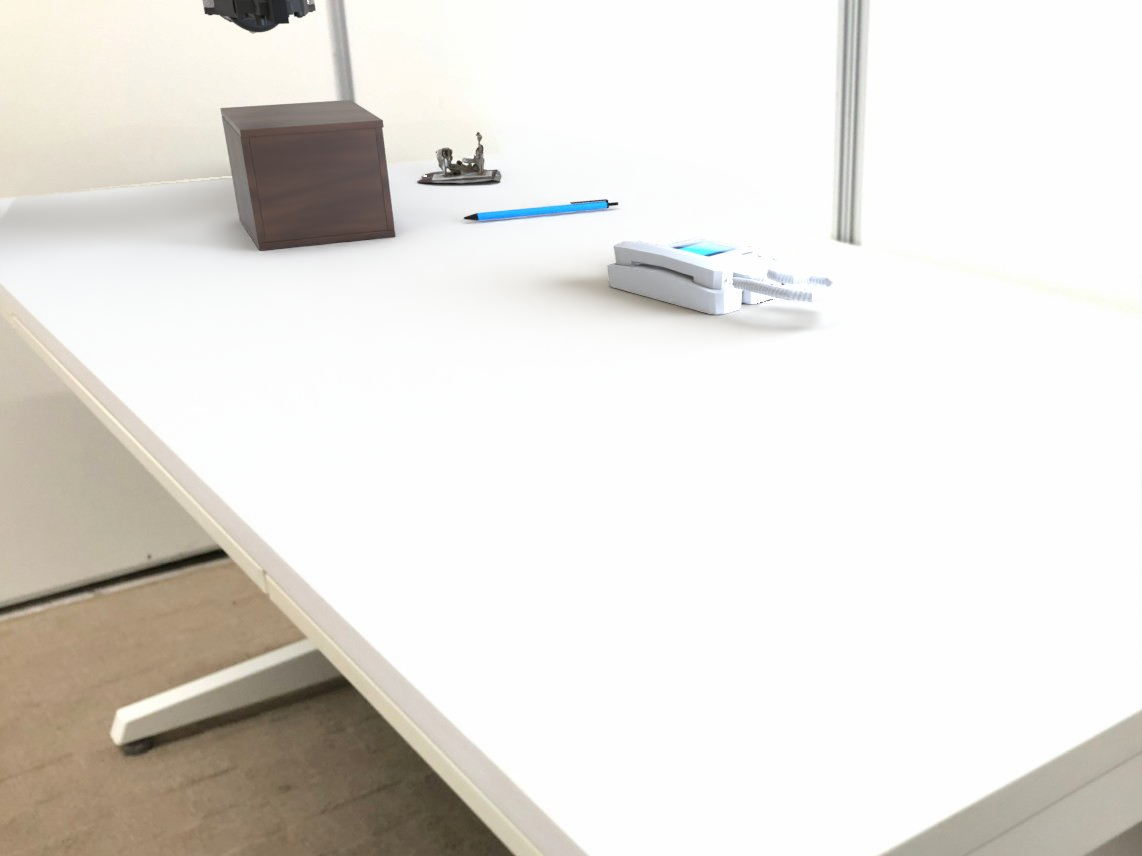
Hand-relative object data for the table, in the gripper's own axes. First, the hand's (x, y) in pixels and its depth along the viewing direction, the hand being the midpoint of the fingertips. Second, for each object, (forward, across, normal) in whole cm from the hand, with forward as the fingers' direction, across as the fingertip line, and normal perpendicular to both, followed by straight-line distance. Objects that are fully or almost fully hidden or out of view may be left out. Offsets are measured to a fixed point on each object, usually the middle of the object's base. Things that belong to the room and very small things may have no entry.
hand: (280, 10), depth 141 cm
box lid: (+3, 0, -11) cm, 11 cm away
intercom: (+50, -31, -23) cm, 63 cm away
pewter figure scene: (-19, -23, -23) cm, 38 cm away
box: (+2, 0, -23) cm, 23 cm away
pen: (+8, -25, -23) cm, 35 cm away
